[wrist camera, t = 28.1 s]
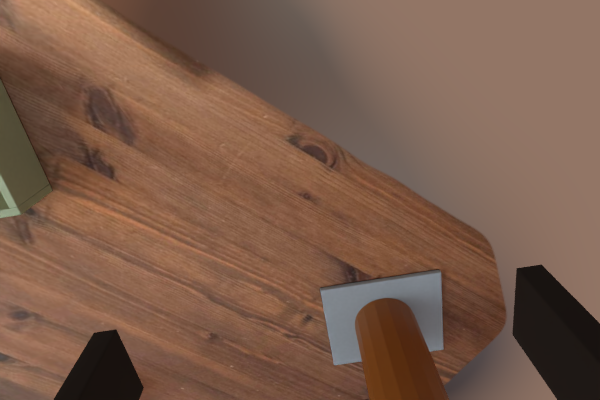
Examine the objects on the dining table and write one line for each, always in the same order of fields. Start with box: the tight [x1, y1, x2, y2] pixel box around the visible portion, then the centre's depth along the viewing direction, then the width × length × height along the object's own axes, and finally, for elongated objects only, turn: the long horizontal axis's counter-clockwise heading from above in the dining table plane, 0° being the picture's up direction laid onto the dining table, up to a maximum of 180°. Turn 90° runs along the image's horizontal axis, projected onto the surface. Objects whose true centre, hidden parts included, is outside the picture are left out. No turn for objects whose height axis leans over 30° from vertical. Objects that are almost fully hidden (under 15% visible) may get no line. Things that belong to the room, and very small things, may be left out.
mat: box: [320, 270, 443, 365], centre depth 50 cm, size 14×12×1 cm
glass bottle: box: [355, 298, 449, 400], centre depth 41 cm, size 7×7×18 cm
